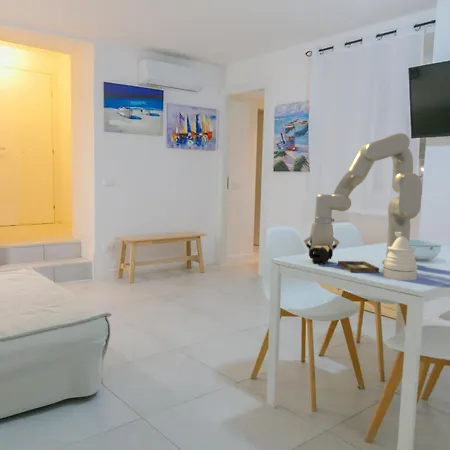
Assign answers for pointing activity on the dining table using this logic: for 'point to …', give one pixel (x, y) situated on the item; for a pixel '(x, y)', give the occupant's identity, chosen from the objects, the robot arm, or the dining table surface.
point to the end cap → (320, 255)
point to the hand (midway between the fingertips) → (320, 258)
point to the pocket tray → (358, 266)
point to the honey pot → (400, 260)
